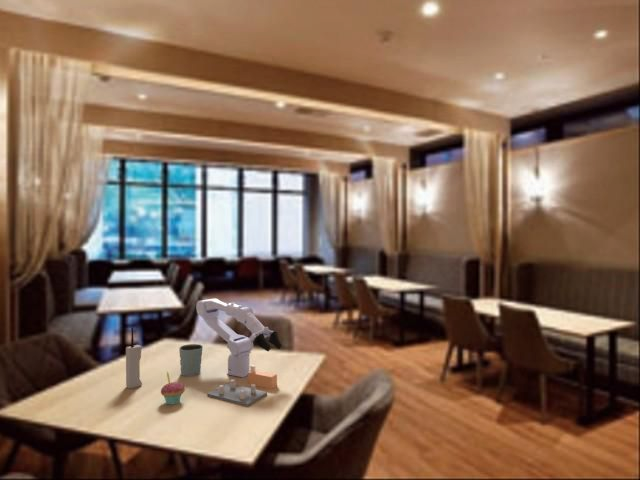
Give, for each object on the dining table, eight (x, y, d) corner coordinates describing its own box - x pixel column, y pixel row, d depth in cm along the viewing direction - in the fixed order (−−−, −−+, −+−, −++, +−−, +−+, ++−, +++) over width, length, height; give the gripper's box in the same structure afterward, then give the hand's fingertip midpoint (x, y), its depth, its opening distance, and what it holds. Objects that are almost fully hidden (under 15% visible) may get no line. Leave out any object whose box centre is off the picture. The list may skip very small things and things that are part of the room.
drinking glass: (174, 375, 182) (174, 348, 181) (189, 367, 191) (189, 342, 191) (192, 378, 178) (192, 351, 177) (207, 370, 187) (207, 345, 187)
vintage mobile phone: (142, 385, 169) (141, 326, 168) (130, 389, 165) (129, 328, 164) (138, 383, 171) (137, 325, 171) (126, 386, 167) (125, 327, 167)
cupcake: (162, 408, 148) (161, 375, 147) (159, 399, 155) (159, 368, 155) (186, 403, 152) (186, 372, 151) (182, 395, 159) (182, 365, 159)
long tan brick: (248, 384, 172) (248, 366, 171) (253, 381, 175) (253, 364, 175) (271, 389, 166) (271, 371, 166) (276, 385, 170) (276, 368, 169)
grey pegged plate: (207, 396, 158) (207, 386, 158) (227, 385, 169) (227, 376, 169) (248, 406, 149) (248, 395, 149) (266, 394, 160) (266, 384, 160)
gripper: (249, 321, 170) (269, 343, 164) (270, 319, 183) (289, 339, 176) (241, 334, 172) (260, 356, 165) (262, 331, 184) (281, 351, 178)
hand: (275, 348), depth 171 cm, fingers open, 7 cm apart
